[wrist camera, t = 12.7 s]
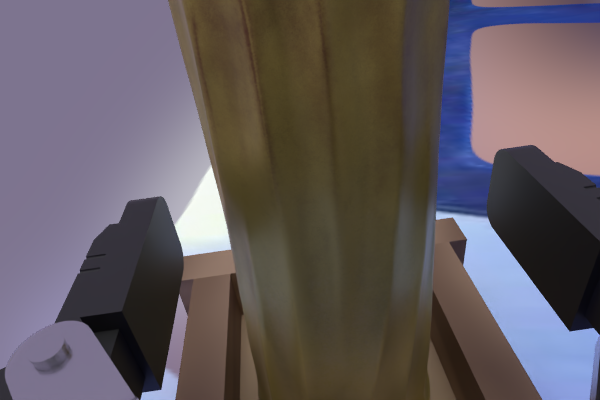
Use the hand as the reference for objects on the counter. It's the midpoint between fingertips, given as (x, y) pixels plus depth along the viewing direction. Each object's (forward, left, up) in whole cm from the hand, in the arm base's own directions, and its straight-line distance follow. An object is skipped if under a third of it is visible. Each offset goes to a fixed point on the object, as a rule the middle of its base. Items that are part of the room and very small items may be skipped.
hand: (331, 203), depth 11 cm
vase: (0, -1, -9) cm, 9 cm away
